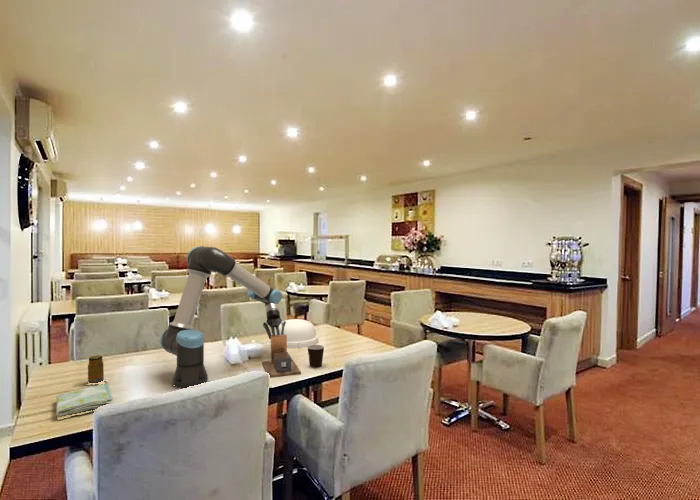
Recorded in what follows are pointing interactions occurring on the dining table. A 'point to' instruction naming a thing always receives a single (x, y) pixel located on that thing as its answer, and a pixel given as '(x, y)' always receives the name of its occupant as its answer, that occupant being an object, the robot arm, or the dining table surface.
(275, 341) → the wooden upright block
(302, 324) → the dome cover
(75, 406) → the towel
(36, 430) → the dining table surface
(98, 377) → the condiment
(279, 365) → the block
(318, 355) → the coffee mug
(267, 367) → the base board
